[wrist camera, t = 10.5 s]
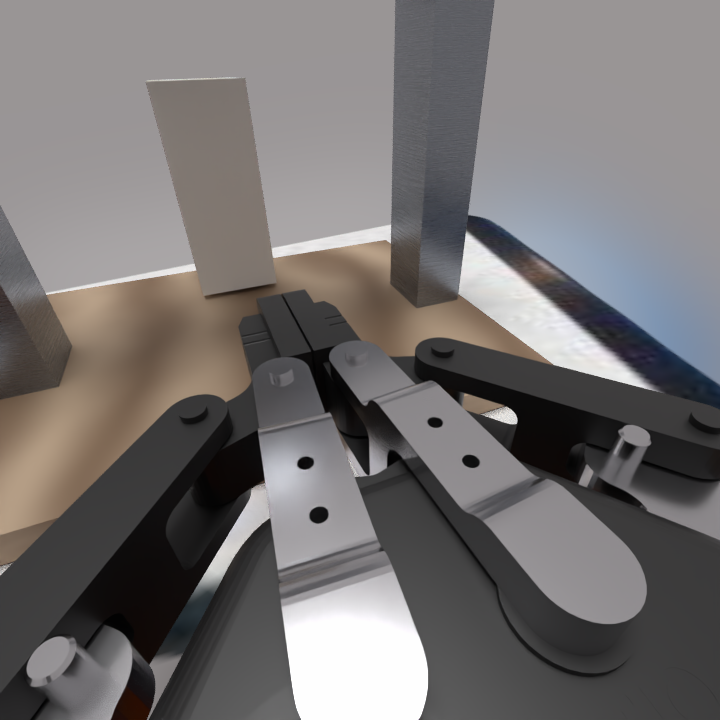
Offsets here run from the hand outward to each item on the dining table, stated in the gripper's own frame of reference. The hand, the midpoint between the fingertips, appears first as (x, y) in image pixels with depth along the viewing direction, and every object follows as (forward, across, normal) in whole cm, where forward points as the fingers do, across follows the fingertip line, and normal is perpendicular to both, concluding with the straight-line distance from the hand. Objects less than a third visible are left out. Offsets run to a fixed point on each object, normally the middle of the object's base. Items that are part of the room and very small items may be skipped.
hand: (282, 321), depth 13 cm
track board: (+11, 0, +8) cm, 13 cm away
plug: (+19, 0, +6) cm, 19 cm away
